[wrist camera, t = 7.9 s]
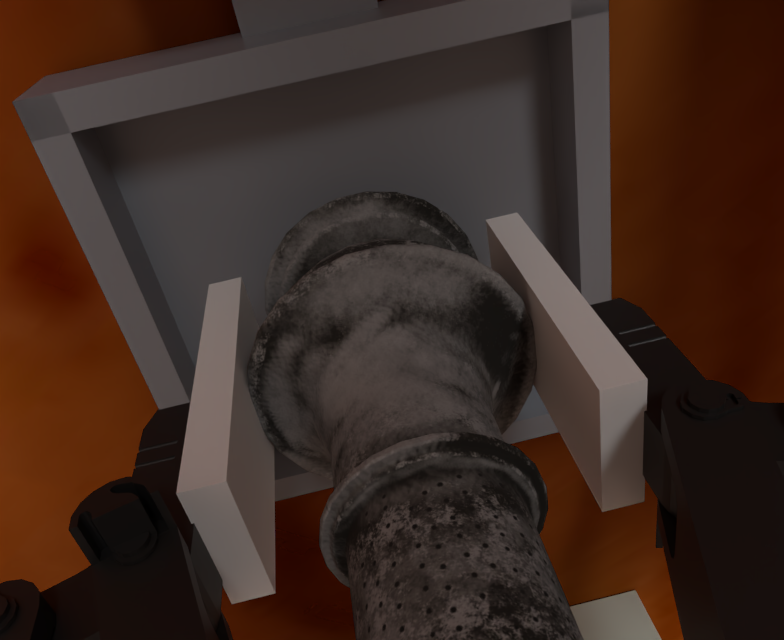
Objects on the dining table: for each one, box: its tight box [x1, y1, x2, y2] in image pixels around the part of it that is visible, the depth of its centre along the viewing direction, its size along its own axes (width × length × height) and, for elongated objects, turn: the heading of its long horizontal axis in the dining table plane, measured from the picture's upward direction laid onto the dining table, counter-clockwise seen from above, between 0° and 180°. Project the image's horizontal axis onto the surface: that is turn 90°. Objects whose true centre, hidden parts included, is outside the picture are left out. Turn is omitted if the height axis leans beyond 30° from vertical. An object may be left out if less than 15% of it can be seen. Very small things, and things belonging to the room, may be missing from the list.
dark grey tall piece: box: [248, 191, 584, 640], centre depth 12 cm, size 6×6×12 cm
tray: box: [13, 0, 611, 501], centre depth 16 cm, size 17×12×4 cm
